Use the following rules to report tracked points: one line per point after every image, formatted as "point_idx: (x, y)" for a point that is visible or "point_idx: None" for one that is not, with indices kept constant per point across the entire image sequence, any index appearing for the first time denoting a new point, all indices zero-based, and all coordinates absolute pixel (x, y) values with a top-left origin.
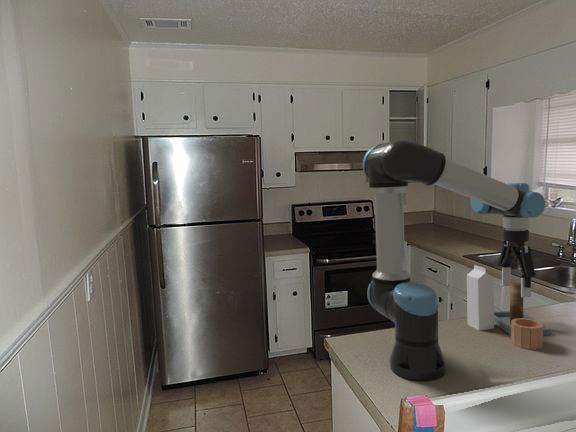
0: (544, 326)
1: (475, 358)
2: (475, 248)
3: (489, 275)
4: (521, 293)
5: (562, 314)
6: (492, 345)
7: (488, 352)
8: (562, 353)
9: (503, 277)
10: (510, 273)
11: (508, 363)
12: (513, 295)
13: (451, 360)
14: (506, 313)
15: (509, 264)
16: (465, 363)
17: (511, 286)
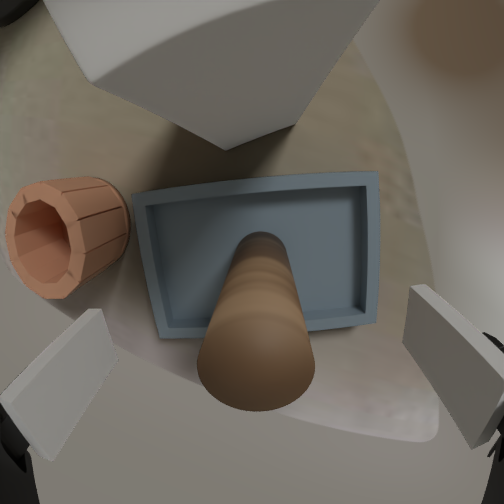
0: (186, 335)
1: (33, 70)
2: None
3: (71, 18)
4: (85, 320)
5: (370, 419)
6: (94, 116)
7: (55, 101)
8: (69, 299)
9: (446, 325)
10: (447, 405)
11: (11, 144)
12: (224, 293)
13: (35, 23)
14: (365, 254)
15: (494, 466)
16: (20, 52)
17: (231, 319)
